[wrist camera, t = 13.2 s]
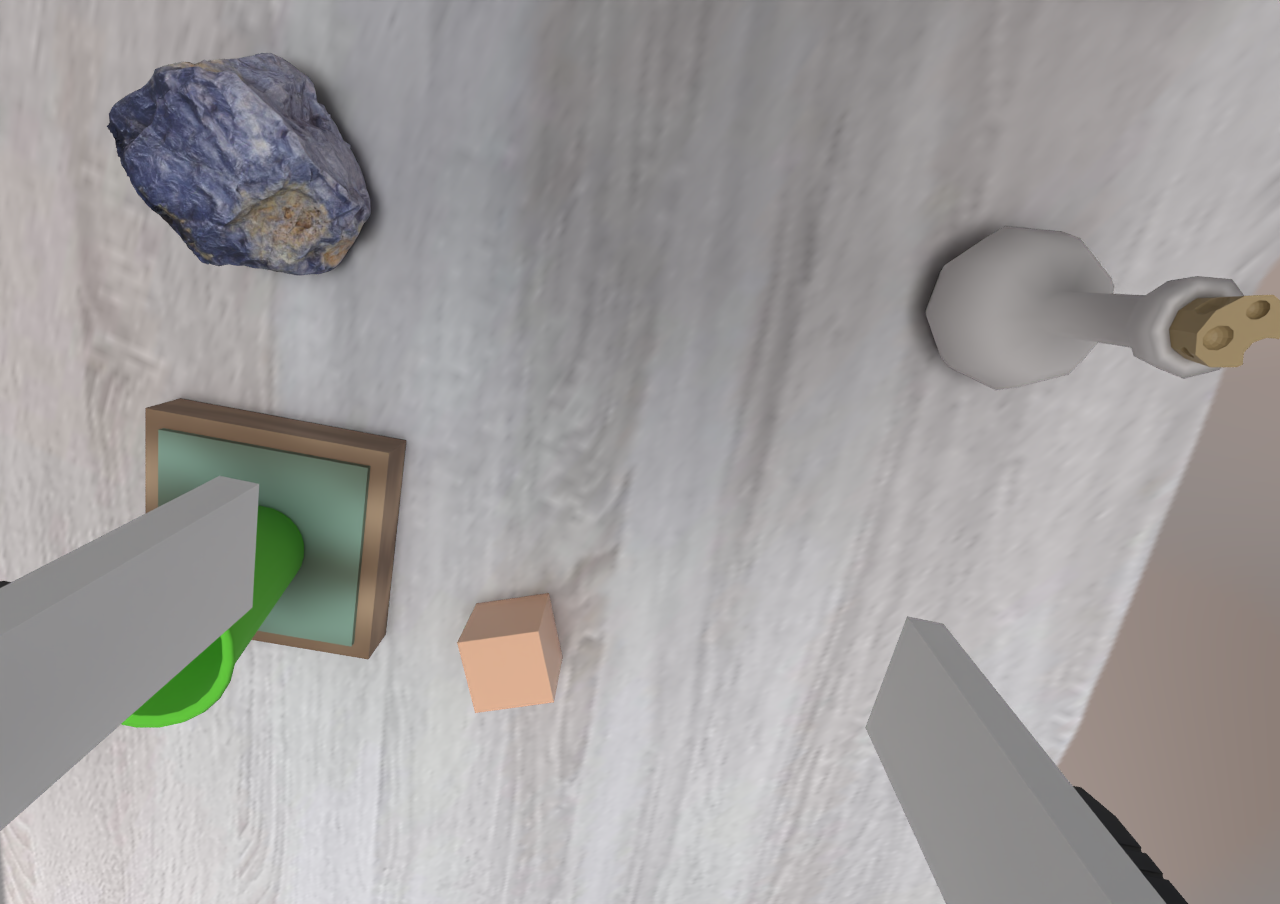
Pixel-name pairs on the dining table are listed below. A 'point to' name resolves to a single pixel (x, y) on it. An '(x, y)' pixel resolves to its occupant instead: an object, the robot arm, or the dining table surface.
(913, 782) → the robot arm
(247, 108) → the rock
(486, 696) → the terracotta block
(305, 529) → the tray
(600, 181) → the dining table surface
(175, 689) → the cup
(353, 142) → the dining table surface
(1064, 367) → the potion bottle
